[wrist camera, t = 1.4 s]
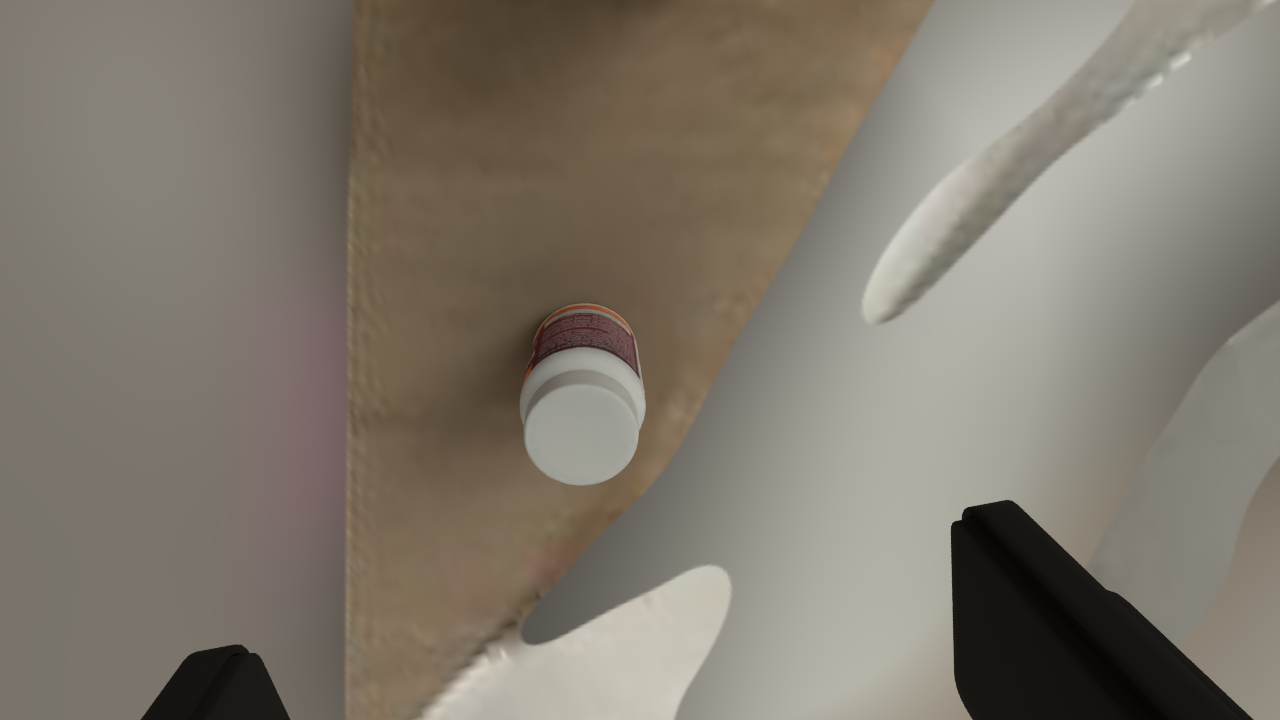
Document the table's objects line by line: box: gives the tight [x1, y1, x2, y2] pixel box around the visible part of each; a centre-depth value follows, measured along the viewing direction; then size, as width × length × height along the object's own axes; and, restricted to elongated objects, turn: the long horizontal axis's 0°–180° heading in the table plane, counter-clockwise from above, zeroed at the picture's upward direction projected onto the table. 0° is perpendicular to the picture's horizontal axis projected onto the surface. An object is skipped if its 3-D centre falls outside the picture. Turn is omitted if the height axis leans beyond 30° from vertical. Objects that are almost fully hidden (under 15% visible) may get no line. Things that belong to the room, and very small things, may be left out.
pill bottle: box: [520, 303, 646, 486], centre depth 28 cm, size 5×5×8 cm
